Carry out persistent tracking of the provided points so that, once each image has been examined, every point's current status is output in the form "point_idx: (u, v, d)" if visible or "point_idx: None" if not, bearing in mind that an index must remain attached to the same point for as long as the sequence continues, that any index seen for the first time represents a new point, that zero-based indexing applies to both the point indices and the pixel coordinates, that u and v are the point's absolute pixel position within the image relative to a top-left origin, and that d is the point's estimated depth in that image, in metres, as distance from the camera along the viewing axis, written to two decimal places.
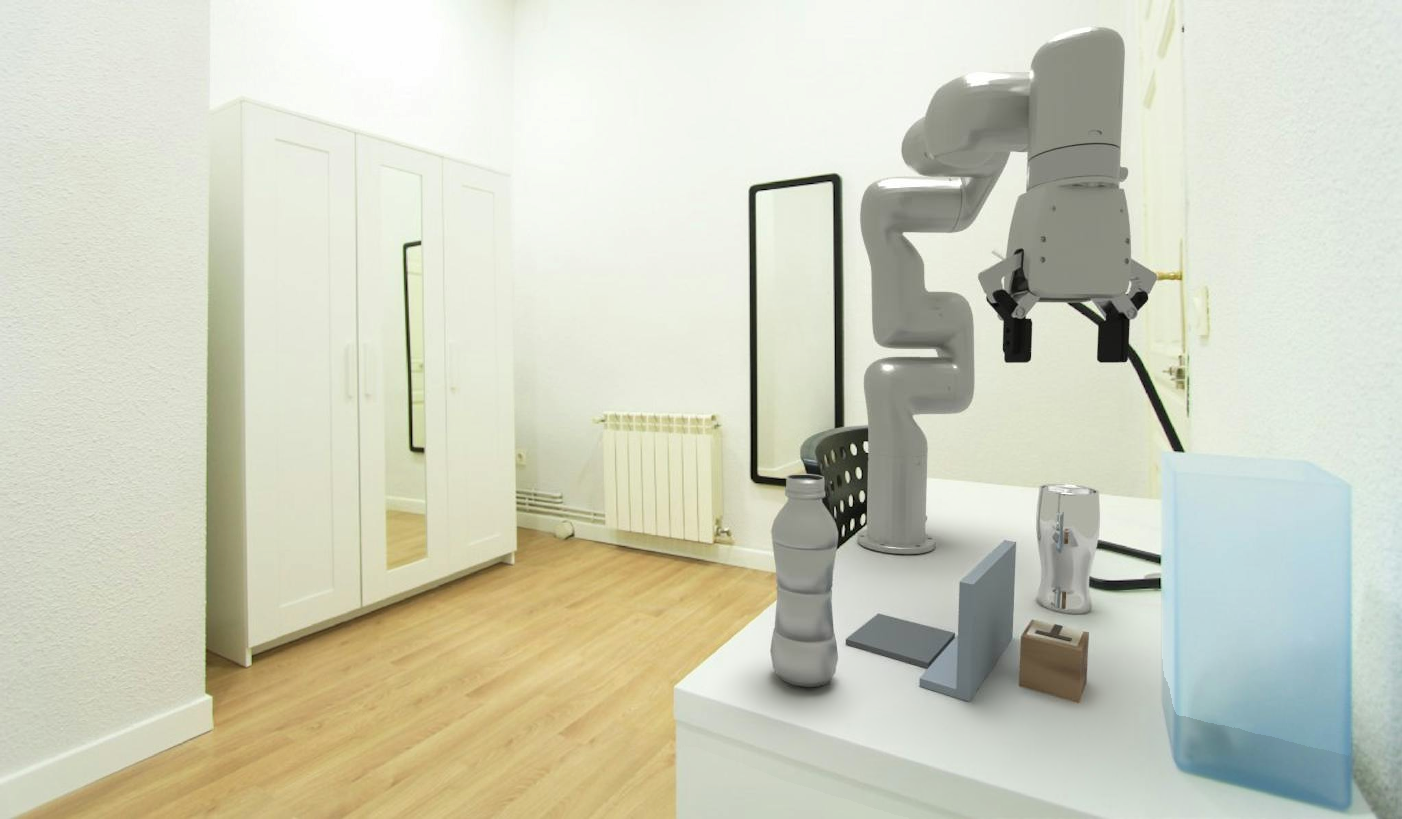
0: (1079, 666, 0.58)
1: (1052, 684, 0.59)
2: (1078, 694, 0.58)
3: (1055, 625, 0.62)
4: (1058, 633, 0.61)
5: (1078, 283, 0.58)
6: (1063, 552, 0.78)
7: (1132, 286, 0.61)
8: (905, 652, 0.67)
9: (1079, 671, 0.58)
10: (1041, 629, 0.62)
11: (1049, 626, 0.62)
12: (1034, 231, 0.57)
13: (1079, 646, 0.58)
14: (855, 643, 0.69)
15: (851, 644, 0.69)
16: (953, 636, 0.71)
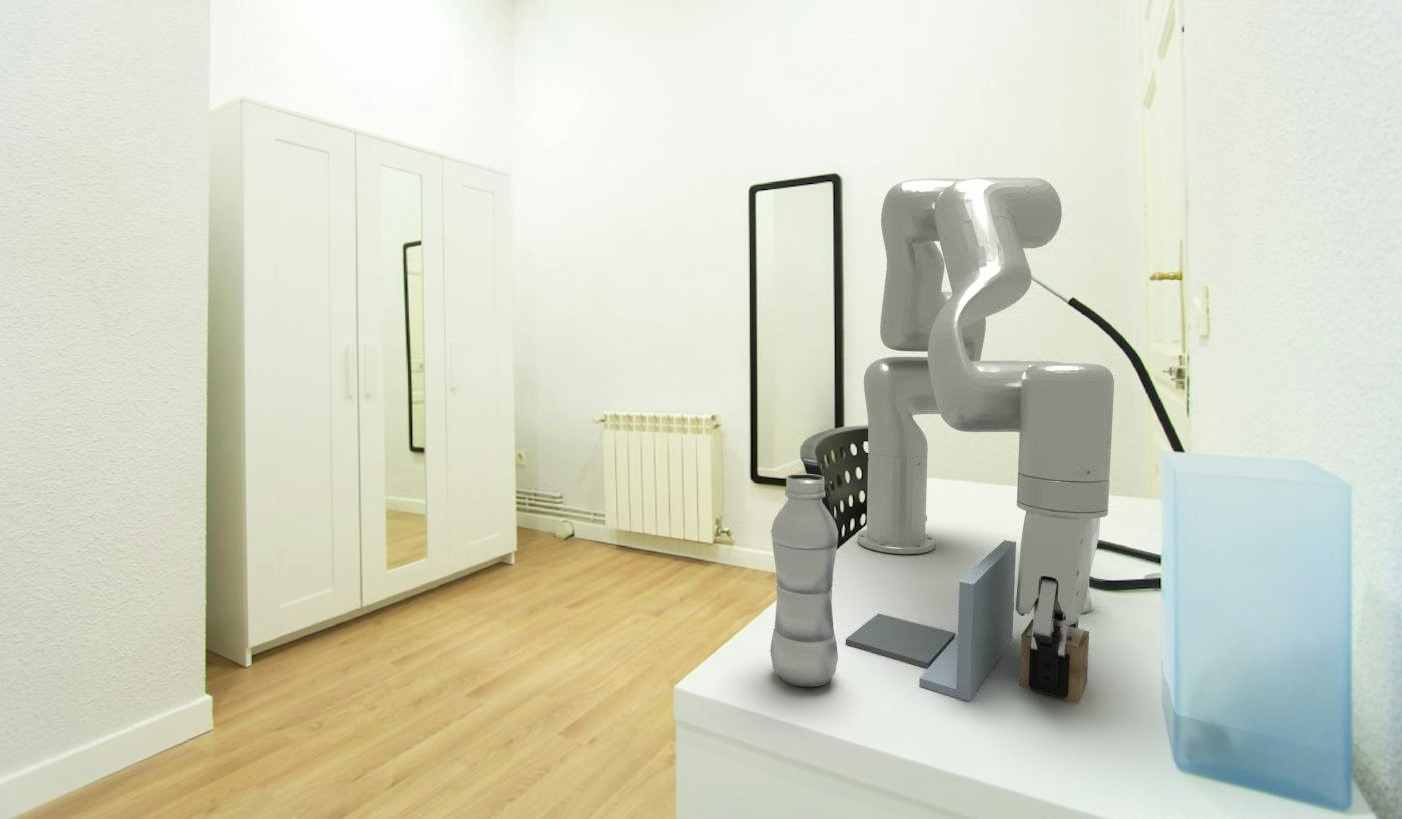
0: (1079, 665, 0.58)
1: None
2: (1078, 693, 0.58)
3: None
4: (1058, 632, 0.61)
5: (1082, 604, 0.59)
6: None
7: None
8: (905, 652, 0.67)
9: (1079, 670, 0.58)
10: None
11: None
12: (1071, 565, 0.56)
13: (1079, 645, 0.58)
14: (855, 643, 0.69)
15: (851, 644, 0.69)
16: (953, 636, 0.71)
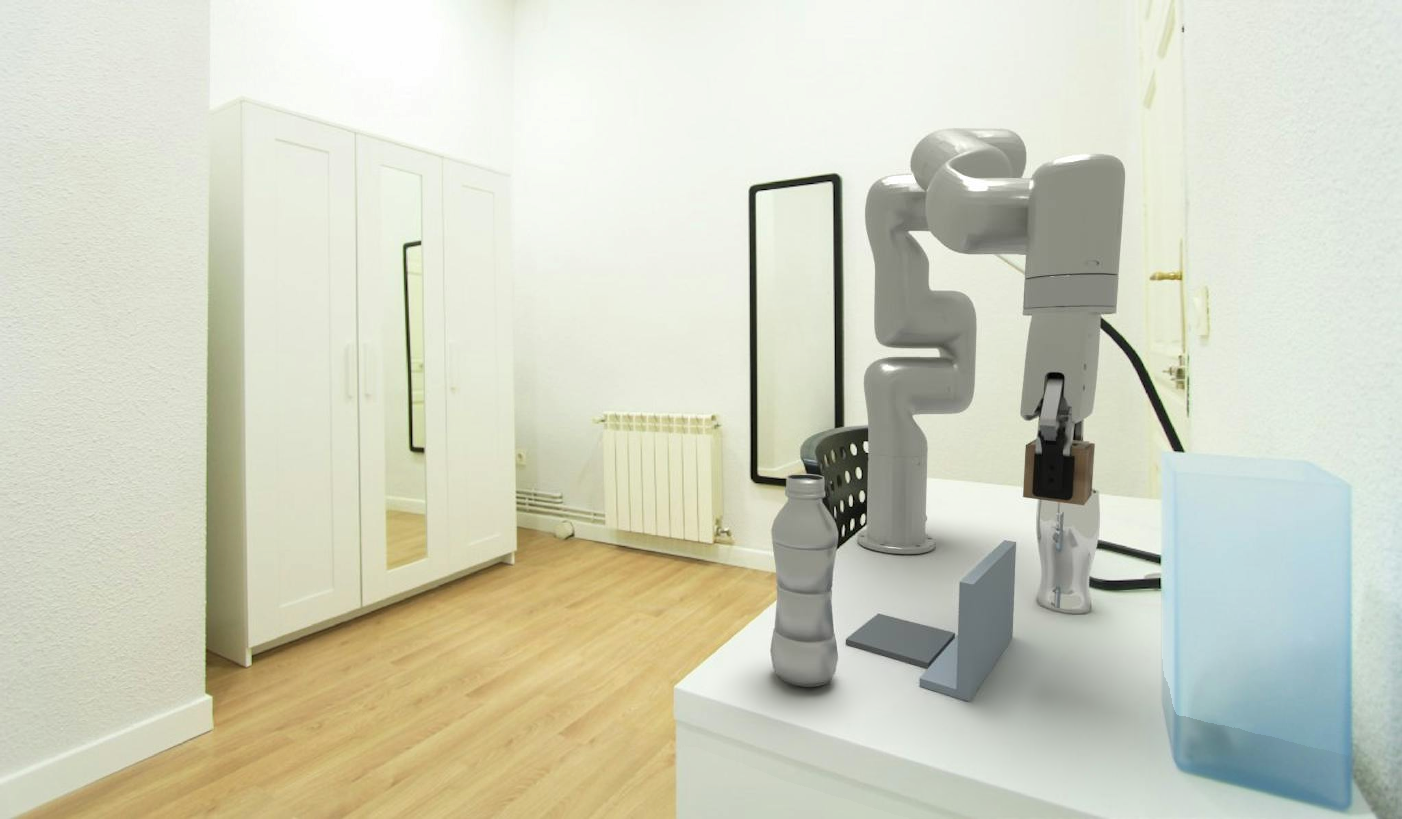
0: (1085, 466, 0.57)
1: None
2: (1083, 496, 0.57)
3: None
4: None
5: (1088, 408, 0.58)
6: (1063, 552, 0.78)
7: None
8: (905, 652, 0.67)
9: (1085, 472, 0.57)
10: None
11: None
12: (1078, 357, 0.55)
13: (1085, 448, 0.58)
14: (855, 643, 0.69)
15: (851, 644, 0.69)
16: (953, 636, 0.71)
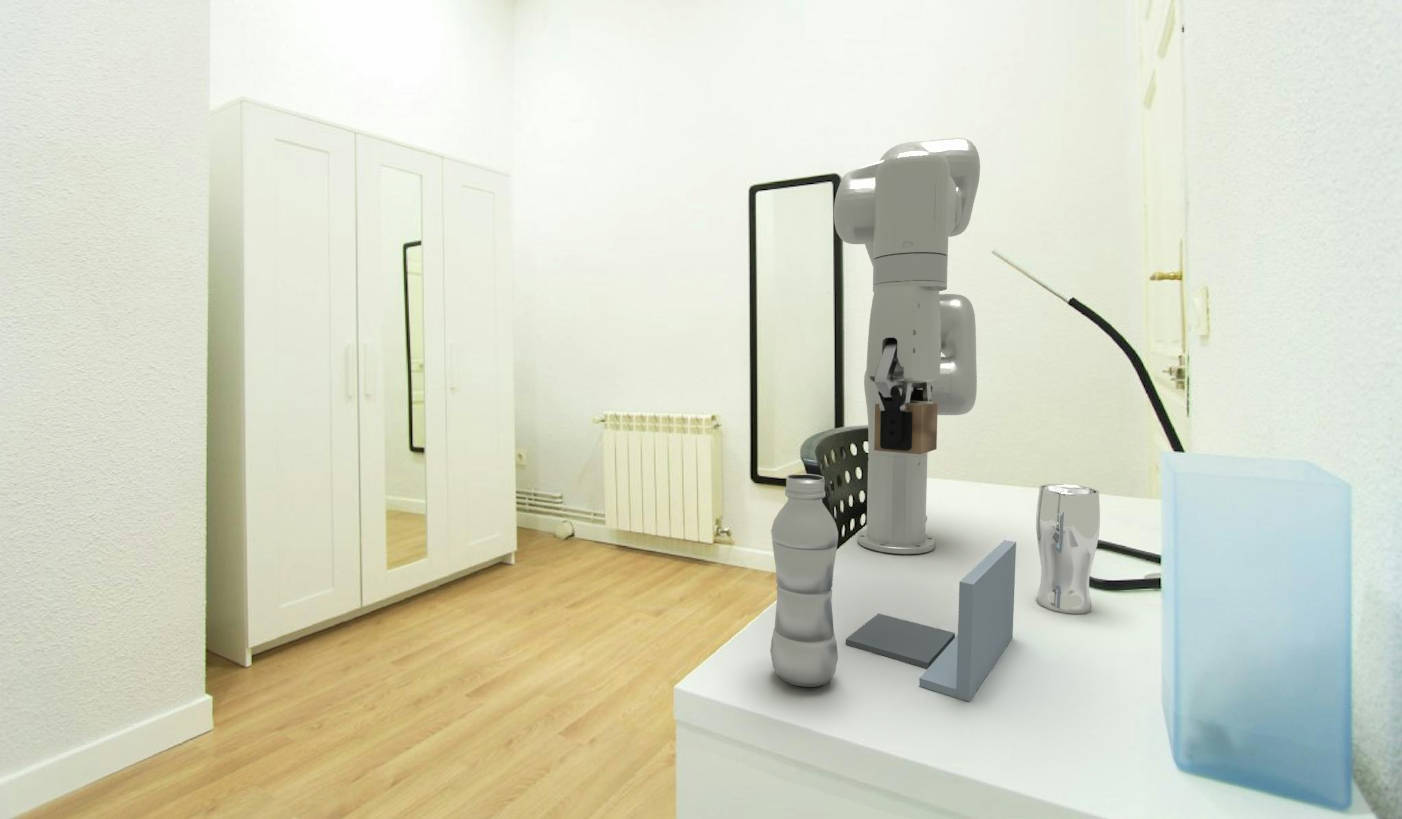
0: (920, 420, 0.65)
1: None
2: (920, 446, 0.65)
3: None
4: None
5: (925, 370, 0.67)
6: (1063, 552, 0.78)
7: None
8: (905, 652, 0.67)
9: (920, 425, 0.65)
10: None
11: None
12: (908, 324, 0.63)
13: (922, 405, 0.66)
14: (855, 643, 0.69)
15: (851, 644, 0.69)
16: (953, 636, 0.71)
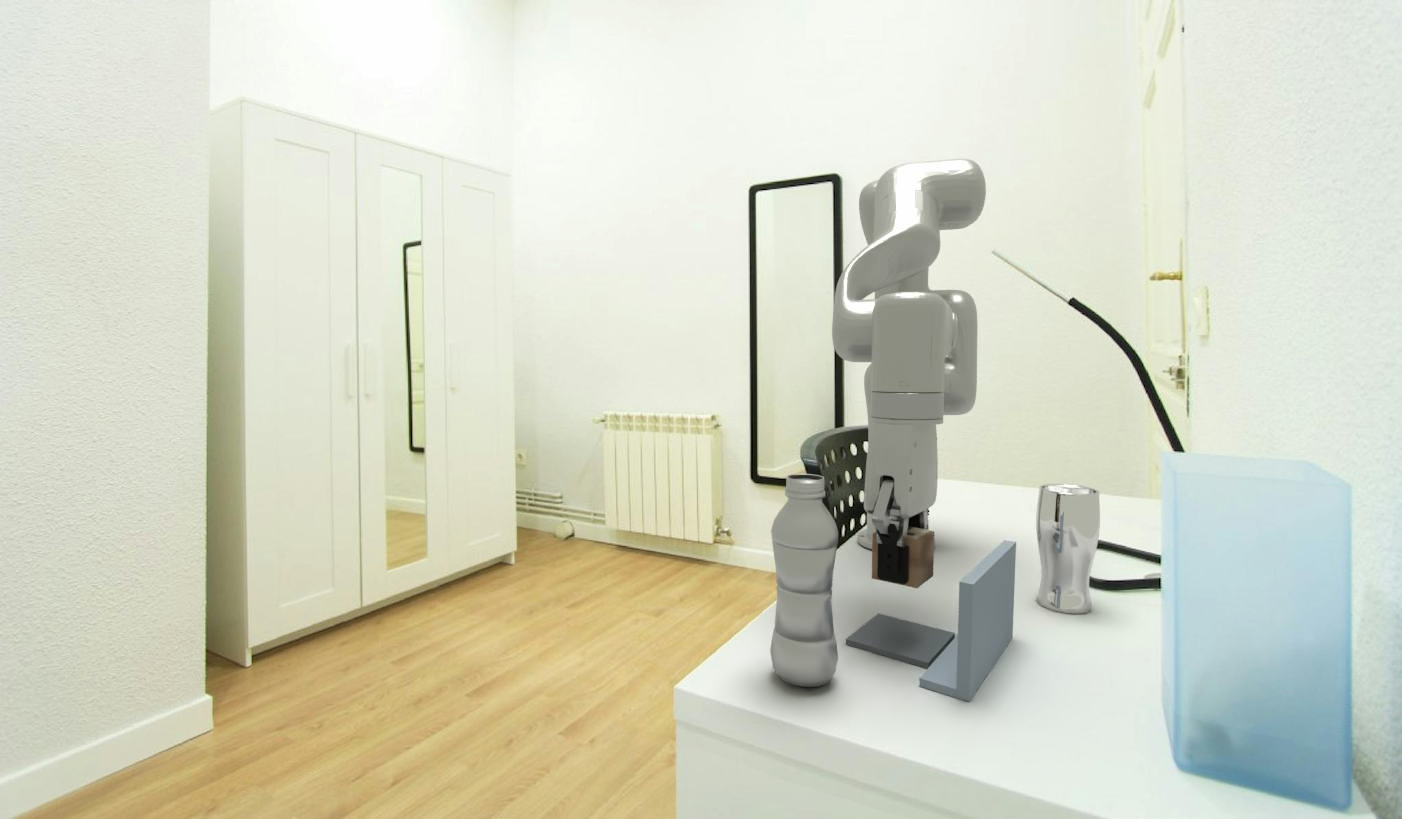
0: (917, 555, 0.66)
1: None
2: (917, 580, 0.66)
3: None
4: None
5: (922, 503, 0.68)
6: (1063, 552, 0.78)
7: None
8: (905, 652, 0.67)
9: (917, 559, 0.66)
10: None
11: None
12: (904, 464, 0.64)
13: (918, 538, 0.67)
14: (855, 643, 0.69)
15: (851, 644, 0.69)
16: (953, 636, 0.71)
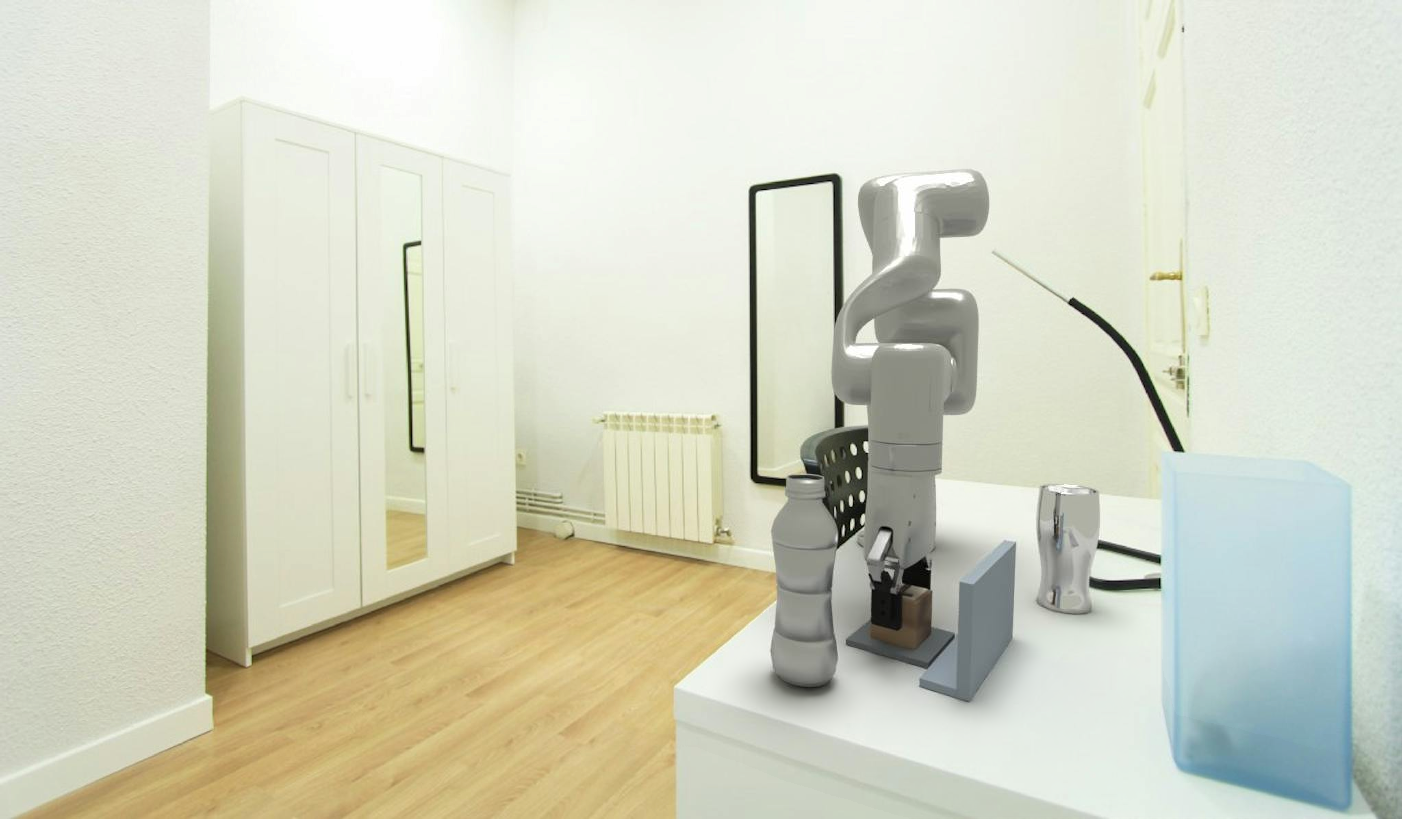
0: (915, 617, 0.67)
1: (895, 634, 0.68)
2: (915, 641, 0.67)
3: (905, 585, 0.72)
4: (903, 590, 0.70)
5: (921, 552, 0.68)
6: (1063, 552, 0.78)
7: None
8: (905, 652, 0.67)
9: (915, 621, 0.67)
10: None
11: None
12: (903, 516, 0.65)
13: (917, 600, 0.68)
14: (855, 643, 0.69)
15: (851, 644, 0.69)
16: (953, 636, 0.71)
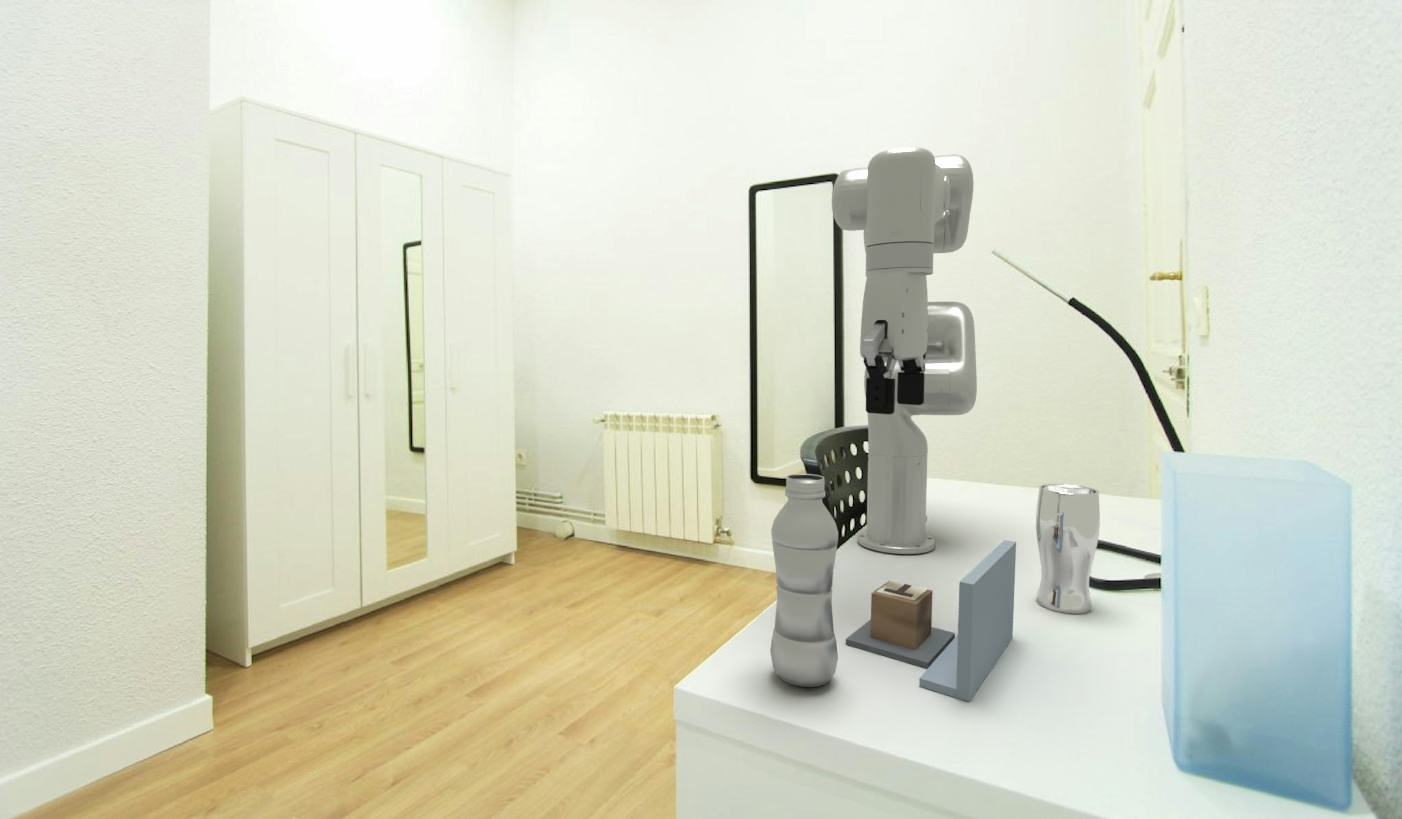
0: (915, 617, 0.67)
1: (895, 634, 0.68)
2: (915, 641, 0.67)
3: (905, 585, 0.72)
4: (903, 590, 0.70)
5: (913, 349, 0.74)
6: (1063, 552, 0.78)
7: None
8: (905, 652, 0.67)
9: (915, 621, 0.67)
10: (891, 588, 0.71)
11: (899, 586, 0.72)
12: (897, 308, 0.70)
13: (917, 600, 0.68)
14: (855, 643, 0.69)
15: (851, 644, 0.69)
16: (953, 636, 0.71)
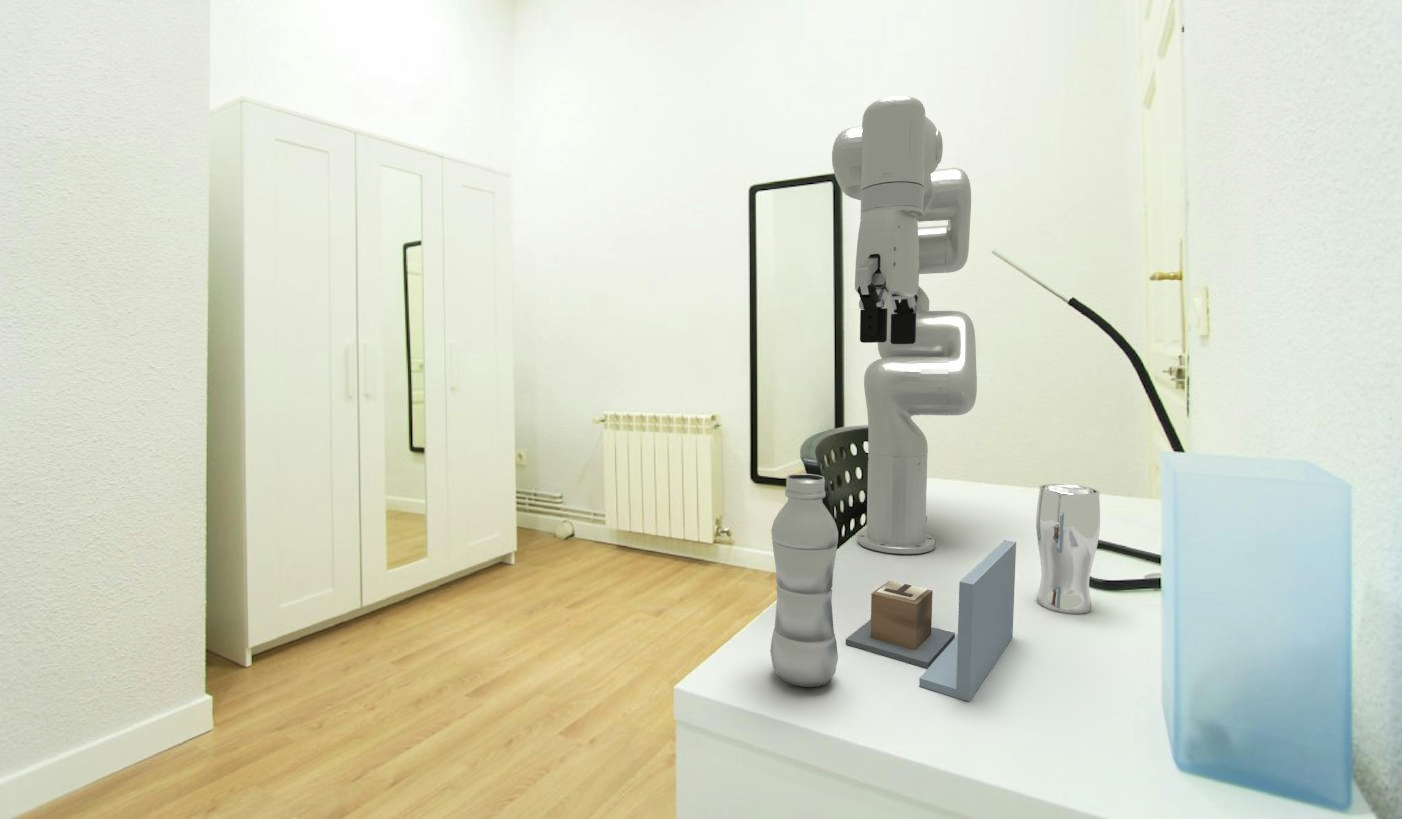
0: (915, 617, 0.67)
1: (895, 634, 0.68)
2: (915, 641, 0.67)
3: (905, 585, 0.72)
4: (903, 590, 0.70)
5: (905, 284, 0.78)
6: (1064, 552, 0.78)
7: None
8: (905, 652, 0.67)
9: (915, 621, 0.67)
10: (891, 588, 0.71)
11: (899, 586, 0.72)
12: (889, 242, 0.75)
13: (917, 600, 0.68)
14: (855, 643, 0.69)
15: (851, 644, 0.69)
16: (953, 636, 0.71)
